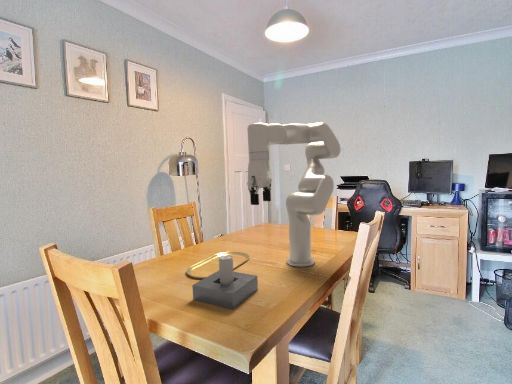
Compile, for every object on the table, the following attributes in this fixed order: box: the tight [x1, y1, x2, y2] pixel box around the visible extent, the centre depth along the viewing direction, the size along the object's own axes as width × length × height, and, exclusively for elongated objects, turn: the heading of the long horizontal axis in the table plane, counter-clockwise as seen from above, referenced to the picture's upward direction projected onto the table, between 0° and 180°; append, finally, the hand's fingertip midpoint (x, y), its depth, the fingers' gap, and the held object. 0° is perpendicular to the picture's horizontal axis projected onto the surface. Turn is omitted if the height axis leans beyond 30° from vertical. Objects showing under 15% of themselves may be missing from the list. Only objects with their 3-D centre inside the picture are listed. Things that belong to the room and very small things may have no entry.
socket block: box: [192, 270, 259, 310], centre depth 99 cm, size 16×16×5 cm
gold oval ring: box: [186, 251, 250, 280], centre depth 130 cm, size 19×35×2 cm, turn 153°
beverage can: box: [218, 255, 234, 285], centre depth 99 cm, size 5×5×12 cm
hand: (261, 202), depth 109 cm, fingers open, 9 cm apart
